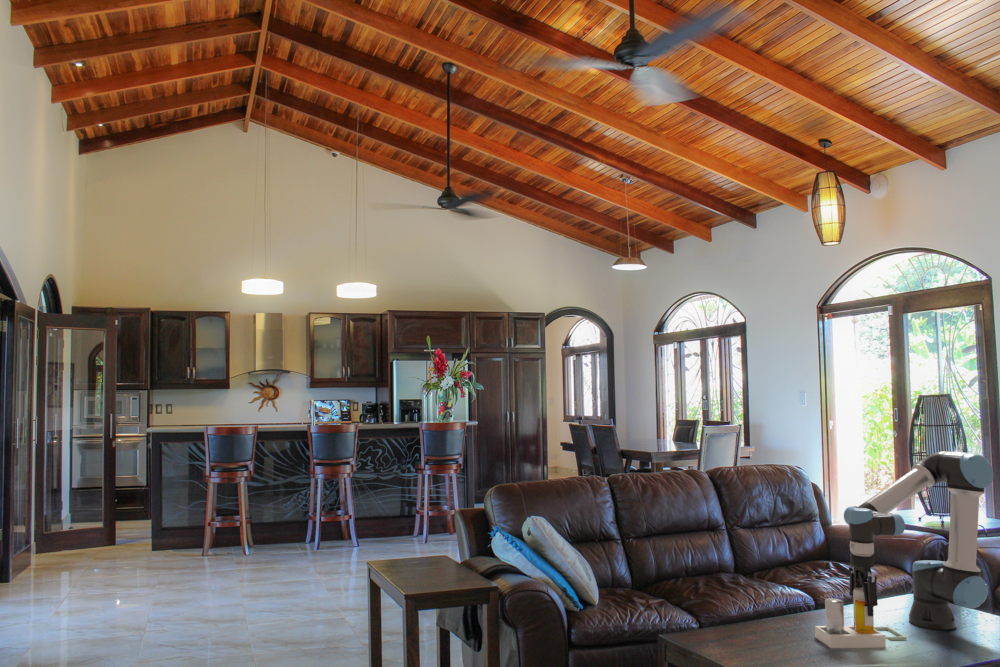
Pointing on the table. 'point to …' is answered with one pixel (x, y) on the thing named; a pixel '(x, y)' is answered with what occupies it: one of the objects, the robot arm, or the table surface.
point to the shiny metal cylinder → (834, 616)
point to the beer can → (860, 612)
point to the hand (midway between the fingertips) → (863, 622)
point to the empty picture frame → (901, 637)
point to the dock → (850, 638)
